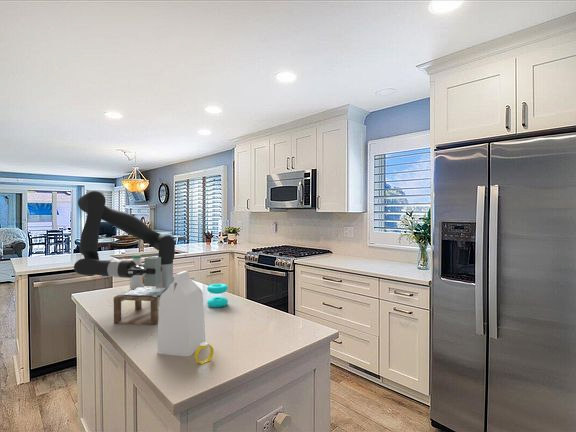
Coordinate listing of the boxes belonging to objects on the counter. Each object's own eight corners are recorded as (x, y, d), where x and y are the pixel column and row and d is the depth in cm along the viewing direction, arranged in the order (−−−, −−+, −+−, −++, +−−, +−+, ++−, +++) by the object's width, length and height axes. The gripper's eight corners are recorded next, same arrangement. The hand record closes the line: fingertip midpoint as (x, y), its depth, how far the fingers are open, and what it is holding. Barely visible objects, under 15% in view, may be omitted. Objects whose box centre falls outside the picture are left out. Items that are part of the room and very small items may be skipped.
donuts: (218, 282, 169) (232, 284, 163) (218, 301, 169) (232, 304, 163) (203, 285, 161) (216, 288, 155) (203, 305, 161) (216, 309, 155)
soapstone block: (149, 283, 146) (150, 256, 146) (160, 283, 145) (161, 257, 145) (143, 285, 141) (144, 258, 141) (155, 286, 140) (155, 258, 140)
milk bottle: (140, 289, 192) (140, 256, 192) (127, 289, 192) (127, 256, 192) (146, 286, 200) (146, 254, 199) (133, 286, 200) (133, 254, 199)
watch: (198, 367, 99) (197, 349, 98) (193, 365, 100) (192, 346, 100) (215, 359, 103) (214, 341, 102) (210, 357, 105) (209, 339, 104)
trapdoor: (114, 301, 138) (114, 294, 138) (132, 293, 151) (132, 287, 151) (152, 303, 136) (152, 295, 136) (167, 294, 150) (167, 287, 150)
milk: (188, 356, 105) (188, 276, 105) (157, 353, 108) (156, 275, 107) (205, 341, 117) (205, 269, 117) (176, 339, 119) (176, 268, 119)
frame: (113, 323, 136) (113, 297, 135) (137, 310, 154) (137, 286, 153) (155, 324, 134) (155, 298, 134) (174, 311, 152) (174, 287, 152)
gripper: (111, 262, 137) (150, 264, 136) (131, 258, 151) (166, 259, 150) (111, 280, 137) (150, 282, 136) (130, 274, 151) (166, 275, 150)
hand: (158, 270), depth 143 cm, fingers closed on soapstone block, 5 cm apart
